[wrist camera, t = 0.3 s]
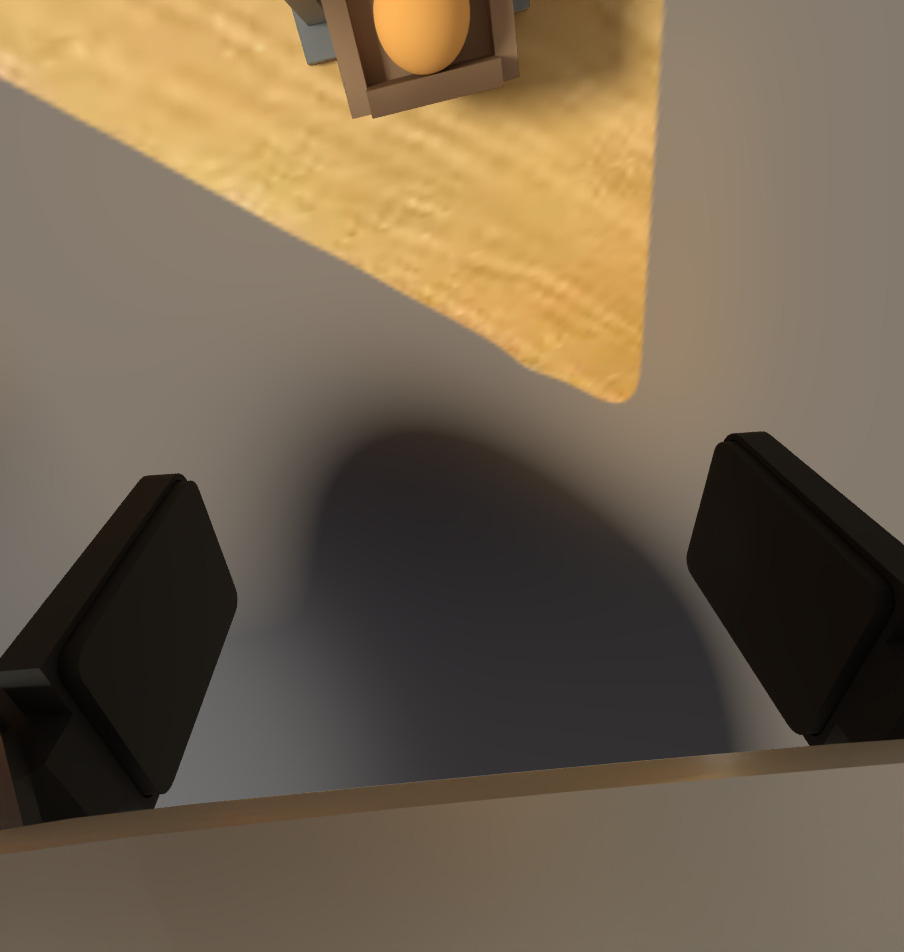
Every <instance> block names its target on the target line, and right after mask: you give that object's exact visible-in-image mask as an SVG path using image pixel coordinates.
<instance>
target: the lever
mask: <svg viewBox="0 0 904 952" xmlns="http://www.w3.org/2000/svg"><path fill="white" fill-rule="evenodd" d="M321 3H322V7H323V10H324V14H325V18H326V21H327V25H328V29H329V33H330V36H331V40H332V44H333V48H334V51H335V55H336V59H337V63H338V66H339V70H340V74H341V77H342V81H343V85H344V89H345V92H346V96H347V100H348V104H349V107H350V111H351V115H352V119H354V118H358V117H362V116H366V115H370V114H372V118H373V119H374V118H378V117H382V116H386V115H390V114H394V113H398V112H402V111H406V110H410V109H414V108H418V107H422V106H426V105H430V104H434V103H438V102H442V101H446V100H450V99H454V98H458V97H462V96H466V95H470V94H474V93H478V92H482V91H486V90H490V89H494V88H498V87H502V86H504V84H503V81H506V80H510V79H514V78H518V77H519V67H518V55H517V43H516V32H515V20H514V8H513V0H469V4H470V22H469V29H468V33H467V37H466V40H465V42H464V45H463V47H462V49H461V51H460V53H459V54H458V55H457V57H456V58H455V60H454V61H453V62H452V63H451V64H450V65H448V66H447V67H446V68H445V69H443V70H441V71H439V72H437V73H434V74H430V75H416V74H413V73H410V72H408V71H405V70H404V69H402V68H401V67H399V66H398V65H397V64H396V63H394V62H393V61H392V59H391V58H390V57H389V56H388V54H387V53H386V52H385V50H384V48H383V46H382V45H381V42H380V40H379V38H378V34H377V31H376V27H375V22H374V14H373V4H374V0H321Z"/></svg>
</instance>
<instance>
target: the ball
mask: <svg viewBox="0 0 904 952" xmlns="http://www.w3.org/2000/svg"><path fill="white" fill-rule="evenodd" d="M373 14H374V22H375V27H376V31H377V34H378V38H379V40H380V42H381V45H382V46H383V48H384V50H385V52H386V53H387V54H388V56H389V57H390V58H391V59H392V61H393V62H394V63H396V64H397V65H398V66H399V67H401V68H402V69H404V70H405V71H408V72H410V73H413V74H416V75H430V74H434V73H437V72H439V71H441V70H443V69H445V68H446V67H447V66H448V65H450V64H451V63H452V62H453V61H454V60H455V58H456V57H457V55H458V54H459V53H460V51H461V49H462V47H463V45H464V42H465V40H466V37H467V33H468V29H469V22H470V4H469V0H374V4H373Z"/></svg>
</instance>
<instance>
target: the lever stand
mask: <svg viewBox="0 0 904 952" xmlns="http://www.w3.org/2000/svg"><path fill="white" fill-rule="evenodd" d="M285 1H286V2H287V3H288V4H289V6H290V7H291V8H292V11H293V15H294V18H295V22H296V26H297V29H298V33H299V36H300V40H301V43H302V47H303V50H304V54H305V57H306V61H307V64H308V65H309V66H310V65H314V64H318V63H322V62H326V61H330V60H334V59H336V55H335V51H334V48H333V44H332V40H331V36H330V33H329V29H328V25H327V21H326V18H325V14H324V10H323V7H322V3H321V0H285ZM529 7H530V4H529V0H513V8H514V13H516V12H520V11H524V10H527V9H528V8H529Z"/></svg>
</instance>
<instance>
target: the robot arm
mask: <svg viewBox="0 0 904 952" xmlns="http://www.w3.org/2000/svg"><path fill="white" fill-rule="evenodd" d="M687 566H688V569H689V572H690V573H691V575H692V577H693V578H694V580H695V582H696V583H697V585H698V586H699V588H700V589H701V591H702V592H703V594H704V596H705V597H706V598H707V600H708V602H709V603H710V605H711V606H712V608H713V610H714V611H715V613H716V614H717V616H718V617H719V619H720V620H721V622H722V623H723V625H724V626H725V628H726V630H727V631H728V633H729V634H730V636H731V637H732V639H733V641H734V642H735V644H736V645H737V647H738V648H739V650H740V651H741V653H742V654H743V656H744V658H745V659H746V661H747V662H748V664H749V665H750V667H751V668H752V670H753V672H754V673H755V674H756V676H757V678H758V679H759V681H760V682H761V684H762V686H763V687H764V689H765V690H766V692H767V693H768V695H769V696H770V698H771V699H772V701H773V703H774V704H775V706H776V707H777V709H778V710H779V712H780V713H781V715H782V717H783V718H784V719H785V721H786V723H787V724H788V725H789V727H790V728H791V729H792V730H793V731H794V732H795V733H797V734H799V735H803V736H804V738H805V739H806V741H807V742H808V744H809V745H810V746H806V747H794V748H783V749H771V750H761V751H749V752H737V753H727V754H715V755H703V756H692V757H682V758H669V759H658V760H648V761H636V762H625V763H614V764H603V765H592V766H582V767H571V768H561V769H550V770H538V771H528V772H517V773H506V774H496V775H485V776H475V777H464V778H454V779H443V780H432V781H422V782H411V783H401V784H391V785H381V786H371V787H360V788H350V789H341V790H331V791H320V792H310V793H300V794H290V795H279V796H269V797H259V798H249V799H239V800H229V801H219V802H208V803H200V804H191V805H182V806H174V807H165V808H157V809H154V807H155V805H156V802H157V799H158V797H159V794H165V793H166V792H167V791H168V790H169V789H170V787H171V786H172V783H173V781H174V779H175V776H176V773H177V770H178V767H179V765H180V762H181V759H182V757H183V754H184V751H185V748H186V746H187V743H188V740H189V738H190V735H191V732H192V729H193V727H194V724H195V721H196V718H197V716H198V713H199V710H200V707H201V705H202V702H203V699H204V696H205V694H206V691H207V688H208V686H209V683H210V680H211V677H212V675H213V671H214V669H215V666H216V664H217V661H218V658H219V655H220V653H221V649H222V647H223V644H224V642H225V639H226V636H227V634H228V631H229V628H230V625H231V623H232V620H233V617H234V614H235V611H236V608H237V592H236V589H235V586H234V583H233V581H232V578H231V575H230V572H229V569H228V567H227V564H226V561H225V559H224V556H223V553H222V551H221V548H220V545H219V542H218V540H217V537H216V534H215V532H214V529H213V527H212V524H211V521H210V518H209V515H208V513H207V510H206V507H205V505H204V502H203V500H202V497H201V494H200V491H199V489H198V486H197V485H196V483H195V482H193V481H187V480H186V478H185V477H184V476H183V475H181V474H179V473H178V474H164V475H150V476H144V477H143V478H141V479H140V480H139V482H138V483H137V484H136V486H135V487H134V488H133V489H132V491H131V492H130V493H129V495H128V496H127V497H126V498H125V500H124V501H123V502H122V503H121V505H120V506H119V507H118V509H117V510H116V511H115V513H114V514H113V515H112V516H111V517H110V519H109V520H108V521H107V523H106V524H105V525H104V526H103V528H102V529H101V530H100V531H99V533H98V534H97V535H96V537H95V538H94V539H93V540H92V542H91V543H90V544H89V546H88V547H87V548H86V549H85V551H84V552H83V553H82V554H81V556H80V557H79V558H78V560H77V561H76V562H75V563H74V565H73V566H72V567H71V569H70V570H69V571H68V572H67V574H66V575H65V576H64V577H63V579H62V580H61V581H60V582H59V584H58V585H57V586H56V588H55V589H54V590H53V592H52V593H51V594H50V595H49V597H48V598H47V599H46V600H45V602H44V603H43V604H42V605H41V607H40V608H39V609H38V611H37V612H36V613H35V614H34V616H33V617H32V618H31V619H30V621H29V622H28V623H27V625H26V626H25V627H24V628H23V630H22V631H21V632H20V634H19V635H18V636H17V637H16V639H15V640H14V641H13V642H12V644H11V645H10V646H9V648H8V649H7V650H6V651H5V653H4V654H3V655H2V657H1V658H0V952H904V545H903V544H902V543H901V542H900V541H898V540H897V539H896V538H895V537H893V536H892V535H891V534H890V533H889V532H887V531H886V530H885V529H884V528H883V527H881V526H880V525H879V524H878V523H877V522H875V521H874V520H873V519H872V518H870V517H869V516H868V515H867V514H866V513H864V512H863V511H862V510H861V509H860V508H858V507H857V506H856V505H855V504H854V503H852V502H851V501H850V500H849V499H847V498H846V497H845V496H844V495H843V494H841V493H840V492H839V491H838V490H837V489H835V488H834V487H833V486H832V485H830V484H829V483H828V482H827V481H825V480H824V479H823V478H822V477H821V476H819V475H818V474H817V473H816V472H815V471H814V470H812V469H811V468H810V467H809V466H807V465H806V464H805V463H804V462H803V461H801V460H800V459H799V458H798V457H797V456H795V455H794V454H793V453H792V452H791V451H789V450H788V449H787V448H786V447H784V446H783V445H782V444H781V443H780V442H778V441H777V440H776V439H775V438H774V437H772V436H771V435H770V434H768V433H766V432H747V433H733V434H730V435H728V436H727V437H726V438H725V440H724V442H721V443H719V444H718V445H717V446H716V448H715V450H714V454H713V458H712V462H711V465H710V469H709V473H708V476H707V480H706V484H705V488H704V492H703V495H702V499H701V503H700V507H699V511H698V514H697V518H696V522H695V525H694V529H693V533H692V537H691V540H690V544H689V548H688V552H687Z"/></svg>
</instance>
